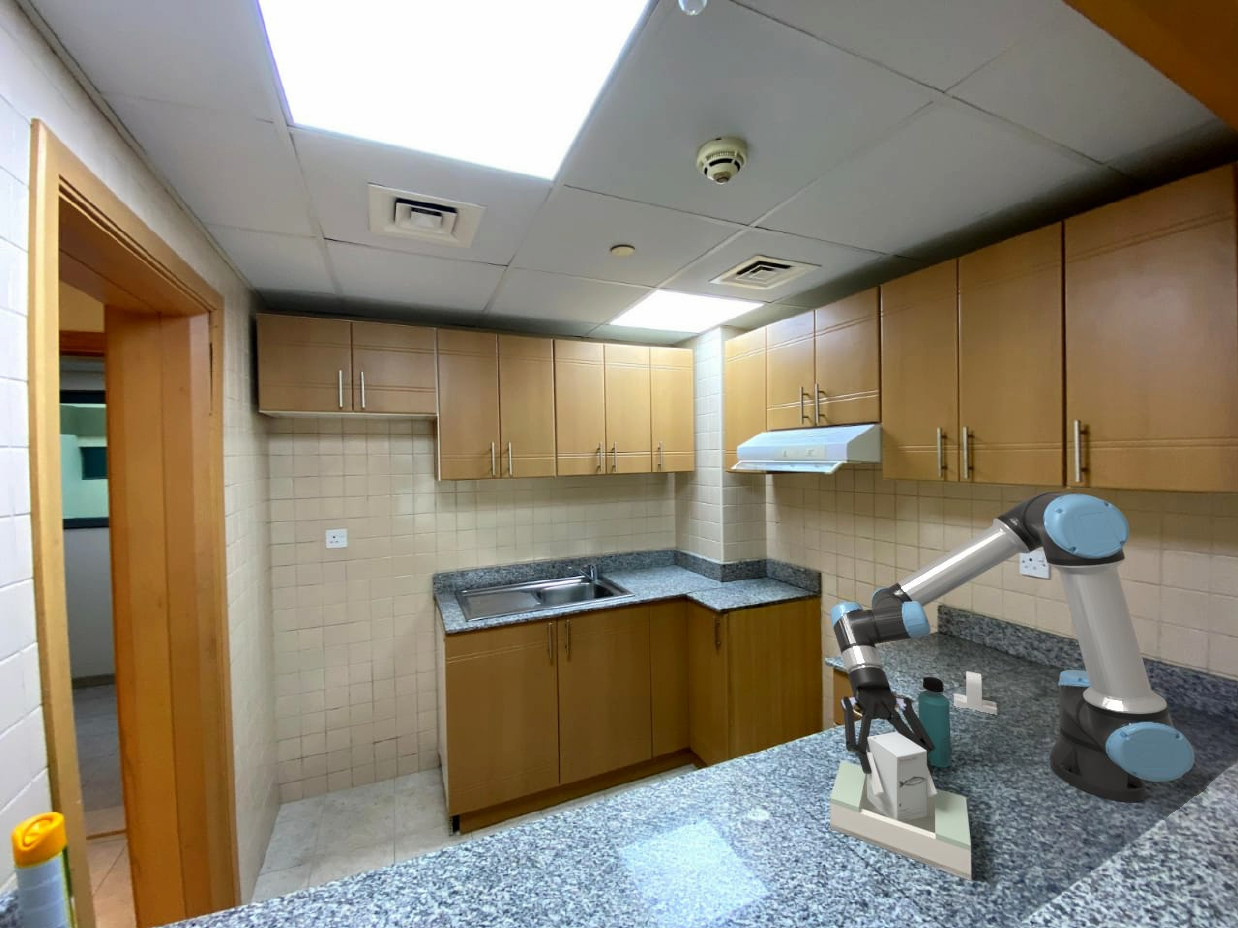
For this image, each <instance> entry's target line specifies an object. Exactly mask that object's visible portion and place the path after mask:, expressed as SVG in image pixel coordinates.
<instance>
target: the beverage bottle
mask: <svg viewBox="0 0 1238 928" xmlns="http://www.w3.org/2000/svg"><path fill="white" fill-rule="evenodd" d="M922 681H923V682H922V688H923V689H924V690H923V691H921V692H920V693H918V695H917V699H918V701H917V702H918V703H917V704H918V705H917V706H918V707H917V708H918V711H917V712H918V713H917V714H918V716H917V717H918V719H919V720H920V722H921V724H922V725H923V727H924V729H925V730H926V732H927V734H928V735H929V737H930V739H931V741H932V742H933V744H934V746H935V750H933V751H932V752H930V753H929V754H928V758H929V760H930V763H931V766H934V767H937V768H947V767H949V766H950V765H951V763H952V757H953V756H952V752H953V751H952V734H951V726H952V725H951V720H950V719H951V717H950V715H951V714H950V710H951V709H950V703H951V702H950V700H949V699H948V698H947V697H946V696H945V695H944V694H943V693H944V691H945V688H944V681H943V680H942V679H939V678H937V677H933V676H926V677H924V678H923V680H922Z"/></svg>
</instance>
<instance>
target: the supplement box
mask: <svg viewBox="0 0 1238 928" xmlns="http://www.w3.org/2000/svg"><path fill="white" fill-rule="evenodd" d="M867 740H868V745H867V751H866V752H867V753H868V752H869V753H872V756H873V759H874V762H875V766H876V769H877V772H878V776H879V779H880V782H881V786H882V789H883V793H882V794H880V795H879V796H877V795H874V792H873V789H872V785H871V782H870V778H869V775H868V774H867V799H868V800H869V801H870V802H871V803H872V804H874V805H875V806H876V807H877V808H878V809H879V810H880V811H881V812H883V813H884V814H885V815H886V816H887V817H888V818H891V819H894V820H897V821H900V822H904V821H908V820H912V819H916V818H921V817H926V816H927V751H926V750H925V749H923V748H922V747H920V746H919V745H917V744H916V743H914V742H912V741H911V740H909V739H908V738H906V737H904V736H903V735H901V734H900V733H898V731H891V732H887V733H881V734H880V733H879V734H876V735H875V734H874V735H869V737H867Z"/></svg>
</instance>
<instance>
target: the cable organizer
mask: <svg viewBox="0 0 1238 928" xmlns="http://www.w3.org/2000/svg"><path fill="white" fill-rule="evenodd" d="M965 674H966V675H965V677H966V678H965V683H966V685H965V686H966V688H965V689H966V690H965V691H966V693H965V694H966V695H965V694H961V693H957V692H956V693H953V707H954V706H956V707H955V708H957V707H960V708H959V709H961V708H969V709H973V710H977V711H980V712H986V713H990V714H995V715H997V716H998V707H997V703H996V702H995V701H992V700H987V699H982V698H983V695H982V694H983V691H982V689H983V687H982V686H983V683H982V681H983V680H982V674H981V673H979V672H973V671H970V670H969V671H968V670H966V673H965Z"/></svg>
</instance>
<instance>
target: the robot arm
mask: <svg viewBox="0 0 1238 928" xmlns="http://www.w3.org/2000/svg"><path fill="white" fill-rule="evenodd" d="M992 522H993V523H992V525H991V526H990V527H987V528H986V529H985V530H983V531H981V532H979V533H978V534H977V535H974V536H973V537H971V538H970V539H968V540H966V541H965V542H963V543H961V544H960V545H958V546H956V547H954V548H953V549H951V550H950V551H948V552H946V553H944V554H943V555H941V556H939V557H938V558H936V559H934V560H933V561H931V562H930V563H928V564H926V565H924V566H923V567H921V568H919V569H918V570H916V571H914V572H913V573H911V574H909V575H908V576H906V577H905V578H903V579H901V580H899V581H898V582H896V583H894V584H893V585H891V586H889V587H880V588H878V589H876V590H875V591H874V592H873V594H871V598H870V603H871V604H870V605H871V608H870V609H865V610H864V608H863V607H862V605H861V604H859V603H857V602H854V601H851V602H848V601H845V602H840V603H837V604H836V605H834V606H833V607H832V608H831V610H830V613H829V614H830V620H831V623H832V629H833V632H834V635H835V637H836V641H837V644H838V647H839V650H840V653H841V657H842V661H843V664H844V667H845V671H846V673H847V674H848V676H847V677H848V680H849V684H850V688H851V691H852V693H853V695H852V697H849V696H846V695H845V696H844V697H843V698H842V699H841V700H840V705H841V709H842V710H843V717H844V734H845V749H846V750H847V752H850V753H851V752H852V753H854V754H855V755H856V756H857V757H858V759H859V763H860V766H861V767H862V770H863V772H864V774H868V775H869V778H870V782H871V785H872V789H873V792H874V795H877V796H879V795H880V794H882V793H883V789H882V786H881V782H880V779H879V776H878V772H877V769H876V766H875V762H874V759H873V756H872V753H869V752H868V753H867V745H868V740H867V737H870V731H871V725H872V721H873V720H877V719H878V720H879V719H880V720H883V721H884V720H885V721H886V720H887V722H888V723H889V724H890V725H892V726H893V728H894V729H895V730H896V732H898V733H900V734H901V735H903V736H904V737H906V738H908V739H909V740H911V741H912V742H914V743H916V744H917V745H919V746H920V747H922V748H923V749H925V750H926V751H927V797H932V796H934V795H936V794H937V791H936V789H935V788H936V786H935V784H934V781H933V778H932V775H933V774H934V768H933V765H931V763H930V760H929V758H928V754H929V753H930V752H932V751H933V750H935V746H934V744H933V742H932V741H931V739H930V737H929V735H928V734H927V732H926V730H925V729H924V727H923V725H922V724H921V722H920V720H919V719H918V716H917V714H916V712H915V709H914V708H913V704H912V701H911V699H910V697H905V698H898V697H896V696H895V695H894V694H893V692H892V690H891V685H890V683H889V680H888V677H887V675H886V672H885V671H884V670H883V669H884V666H883V663H882V660H881V658H880V655H879V652H878V649H877V647H876V645H877V644H884V643H890V642H899V641H903V640H904V641H905V640H910V639H914V640H915V639H917V638H921V637H925V636H928V635H930V634H931V630H932V629H931V625H930V622H929V620H928V616H927V613H926V611H925V609H924V608H925V607H926V606H928V605H930V604H932V603H933V602H934V601H937V600H939V599H940V598H942V597H944V596H946V595H947V594H949V593H951V592H952V591H954V590H956V589H957V588H959V587H962V586H964V585H965V584H967V583H968V582H970V581H972V580H974V579H975V578H977V577H979V576H981V575H982V574H985V573H986V572H988V571H989V570H991V569H993V568H995V567H996V566H999V565H1000V564H1002V563H1004V562H1005V561H1007V560H1009V559H1011V558H1012V557H1014V556H1016V555H1018V554H1026V555H1028V554H1030V553H1032V552H1034V551H1035V550H1037V549H1040V548H1042V549H1043V553H1044V557H1045V560H1046V564H1048V565H1049V566H1050V567H1052V568H1054V569H1056V570H1057V571H1058V572H1059V576H1060V579H1061V584H1062V587H1063V590H1064V594H1065V598H1066V602H1067V605H1068V609H1069V612H1070V616H1071V619H1072V624H1073V627H1074V631H1075V634H1076V638H1077V642H1078V646H1079V649H1080V653H1081V657H1082V660H1083V663H1084V667H1085V670H1083V669H1082V670H1081V669H1067V670H1063V671H1061V672H1060V674H1059V678H1058V679H1059V681H1058V684H1057V686H1058V709H1059V710H1058V711H1059V715H1058V717H1059V735H1058V737H1057V739H1056V740H1055V741H1056V742H1055V744H1054V745H1053V748H1052V750H1051V752H1050V754H1049V766H1050V769H1051V770H1052V772H1053V774H1055V775H1056V776H1057V777H1059V778H1060V779H1061V780H1062V781H1064V782H1065V783H1068V784H1069V785H1071V786H1073V787H1075V788H1077V789H1079V790H1082V791H1084V792H1086V793H1089V794H1092V795H1095V796H1098V797H1101V798H1105V799H1107V800H1108V799H1109V800H1113V801H1118V802H1125V803H1128V802H1129V803H1136V802H1141V801H1143V800H1144V799H1145V798H1146V794H1147V793H1146V792H1147V786H1146V781H1148V782H1155V783H1161V782H1162V783H1165V782H1171V781H1174V780H1175V781H1176V780H1177V779H1181V778H1182V777H1183V775H1185V773H1188V772H1189V771H1190V770H1191V769H1192V768H1193V765H1194V763H1195V751H1194V749H1193V747H1192V745H1191V743H1190V741H1189V739H1187V738H1186V737H1185V735H1184V734H1183V733H1182V732H1180V731H1179V730H1178V729H1176V728H1175V727H1174V723H1173V720H1172V717H1171V713H1170V711H1169V710H1170V709H1169V707H1168V704H1167V701H1166V699H1165V698H1164V697H1162V696H1161V695H1160V694H1158V693H1156V692H1154V691H1153V690H1152V687H1151V684H1150V681H1149V676H1148V673H1147V670H1146V667H1145V662H1144V659H1143V656H1142V653H1141V649H1140V645H1139V642H1138V641H1139V640H1138V639H1137V638H1138V637H1137V635H1136V631H1135V627H1134V624H1133V620H1132V616H1131V613H1130V610H1129V606H1128V603H1127V599H1126V597H1125V592H1124V589H1123V586H1122V582H1121V578H1120V575H1119V571H1118V567H1120V566H1121V565H1122V564H1123V563H1124V562H1125V561H1126V556H1125V553H1124V550H1123V548H1124V546H1125V544H1126V543H1128V541H1129V537H1130V526H1129V522H1128V519H1127V518H1126V516H1125V514H1123V512H1122V511H1121V510H1120V509H1119V508H1118V507H1116V506H1115V505H1114V504H1113V503H1110V502H1109V501H1107V500H1104V499H1102V498H1099V497H1096V496H1092V495H1089V494H1085V493H1083V494H1082V493H1068V492H1067V493H1066V492H1060V491H1059V492H1058V491H1048V492H1047V491H1046V492H1041V493H1037V494H1035V495H1032V496H1031V497H1029V498H1026V499H1025V500H1022V501H1021V502H1020V503H1018V504H1017V505H1015V506H1013V507H1012V508H1009V509H1008V510H1006V511H1005V512H1004V513H1001V514H1000V515H999V516H997V517H996V518H994V519H993V521H992ZM855 705H856V707H857V708H858V709H859V710H861V719H860V721H861V722H860V728H859V733H858V740H856V739H857V738H856V725H855V724H856V723H855V712H854V708H855ZM896 706H897V707H898V710H900V711H902V716H903V717H904V718H905V720H906V722H907V723H905V721H904V719H902V718H901V717H902V716H901V715H900V713H899V712H898V710H896ZM907 724H908V725H909V726H908V725H907Z"/></svg>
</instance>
